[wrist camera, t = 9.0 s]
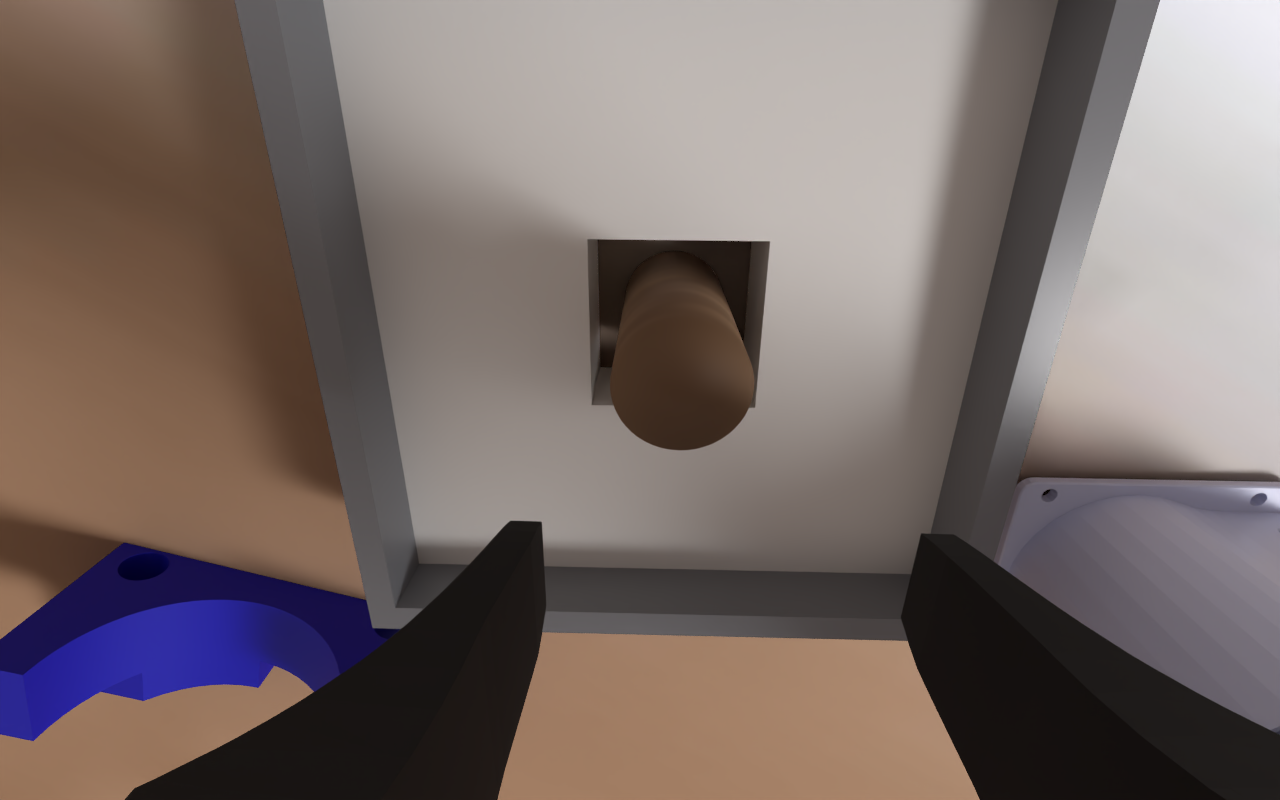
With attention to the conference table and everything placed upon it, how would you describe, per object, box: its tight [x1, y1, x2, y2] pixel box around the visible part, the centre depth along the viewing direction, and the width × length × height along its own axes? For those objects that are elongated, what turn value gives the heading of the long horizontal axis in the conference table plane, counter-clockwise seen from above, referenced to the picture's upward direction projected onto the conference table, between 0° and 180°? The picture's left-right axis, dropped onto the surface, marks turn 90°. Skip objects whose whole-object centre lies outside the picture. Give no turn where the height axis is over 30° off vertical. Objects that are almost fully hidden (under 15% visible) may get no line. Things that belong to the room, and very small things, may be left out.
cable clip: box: [0, 543, 400, 741], centre depth 23 cm, size 12×4×6 cm, turn 73°
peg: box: [610, 251, 754, 450], centre depth 16 cm, size 3×3×7 cm
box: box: [235, 0, 1160, 641], centre depth 17 cm, size 18×18×5 cm
